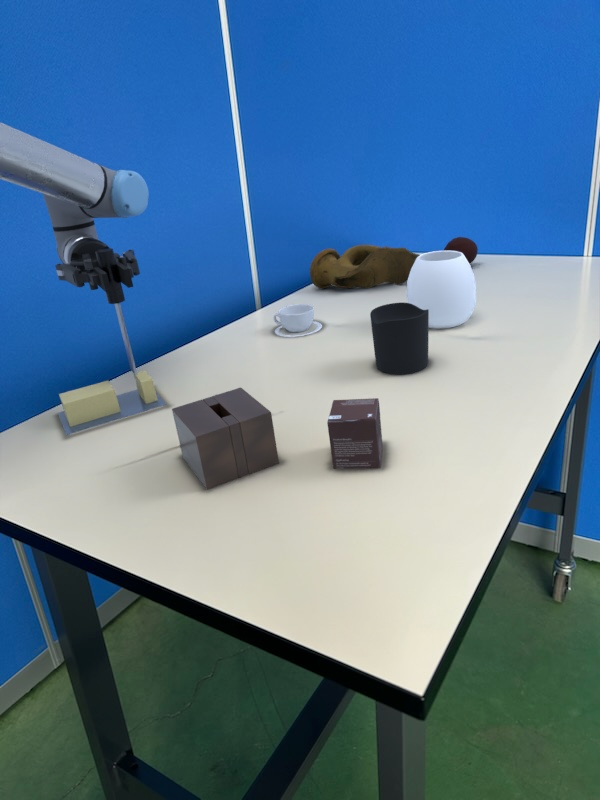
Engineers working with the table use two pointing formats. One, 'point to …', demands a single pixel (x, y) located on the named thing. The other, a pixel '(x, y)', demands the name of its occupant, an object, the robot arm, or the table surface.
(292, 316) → the teacup
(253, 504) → the table surface
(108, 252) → the knife
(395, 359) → the pen holder
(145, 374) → the butter slice
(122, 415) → the butter dish
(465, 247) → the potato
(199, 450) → the knife block
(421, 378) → the table surface
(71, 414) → the butter stick
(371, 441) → the box
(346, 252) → the brown looped sculpture
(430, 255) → the white vase
